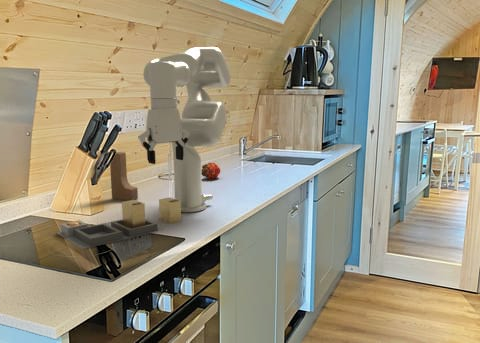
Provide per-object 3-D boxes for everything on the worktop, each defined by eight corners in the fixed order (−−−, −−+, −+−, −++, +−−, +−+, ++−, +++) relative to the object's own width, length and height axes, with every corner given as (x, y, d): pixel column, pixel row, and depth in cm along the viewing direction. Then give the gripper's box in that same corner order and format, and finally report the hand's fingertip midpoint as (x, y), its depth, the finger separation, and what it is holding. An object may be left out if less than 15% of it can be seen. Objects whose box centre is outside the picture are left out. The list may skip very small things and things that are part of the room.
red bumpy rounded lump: (203, 184, 210) (214, 183, 222) (217, 174, 208) (228, 174, 219) (194, 169, 212) (205, 168, 223) (208, 159, 209) (219, 159, 221)
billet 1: (135, 225, 136) (134, 199, 135) (145, 230, 132) (144, 202, 130) (123, 228, 134) (121, 201, 132) (133, 233, 129) (131, 205, 128)
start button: (77, 229, 132) (76, 221, 132) (81, 231, 130) (80, 223, 130) (67, 231, 130) (67, 223, 130) (71, 233, 128) (70, 225, 128)
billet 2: (170, 221, 146) (169, 196, 144) (181, 225, 141) (180, 200, 140) (159, 224, 143) (158, 198, 142) (170, 228, 139) (169, 202, 137)
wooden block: (138, 198, 177) (136, 152, 174) (131, 201, 173) (129, 154, 170) (118, 197, 180) (116, 151, 177) (111, 199, 176) (109, 153, 172)
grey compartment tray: (132, 221, 146) (132, 209, 145) (163, 234, 132) (162, 221, 132) (56, 238, 130) (55, 224, 129) (82, 254, 117) (81, 239, 116)
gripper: (181, 103, 144) (183, 156, 147) (131, 105, 133) (134, 163, 136) (195, 103, 138) (196, 159, 141) (143, 106, 127) (146, 166, 130)
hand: (166, 161), depth 139 cm, fingers open, 9 cm apart
